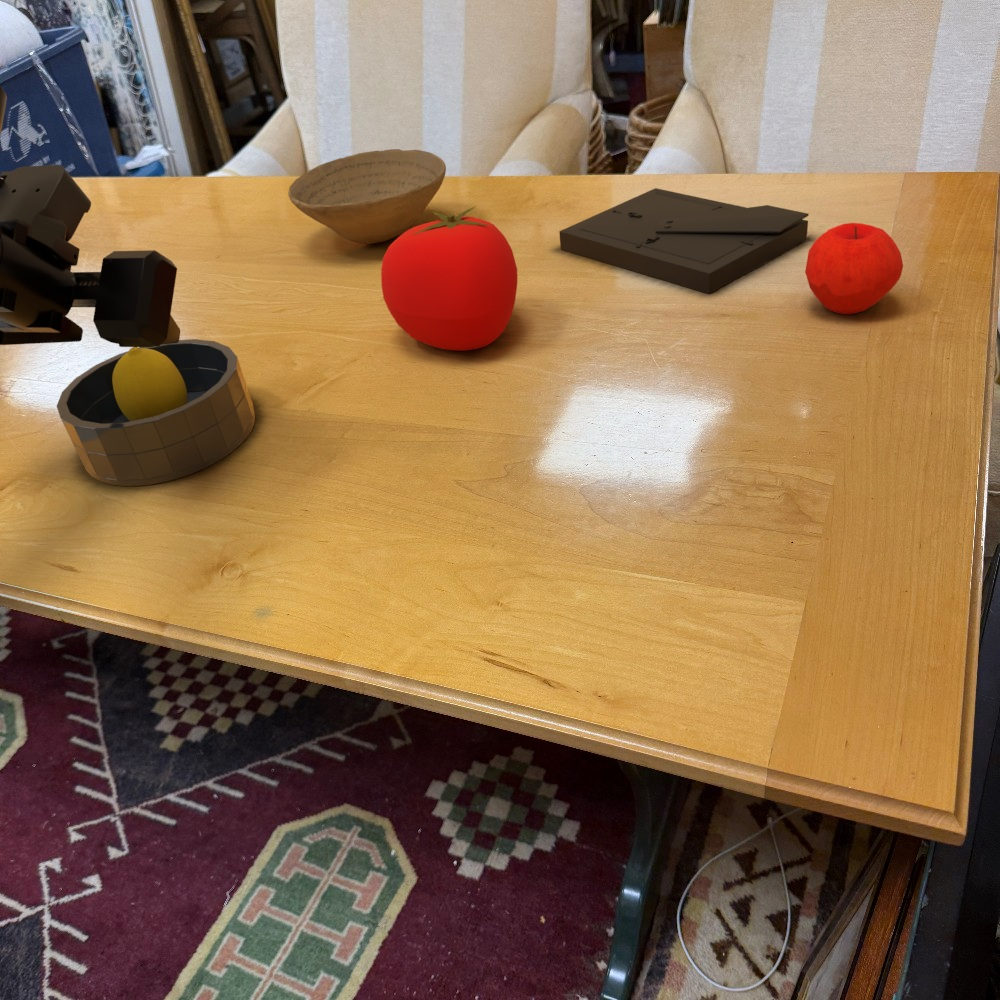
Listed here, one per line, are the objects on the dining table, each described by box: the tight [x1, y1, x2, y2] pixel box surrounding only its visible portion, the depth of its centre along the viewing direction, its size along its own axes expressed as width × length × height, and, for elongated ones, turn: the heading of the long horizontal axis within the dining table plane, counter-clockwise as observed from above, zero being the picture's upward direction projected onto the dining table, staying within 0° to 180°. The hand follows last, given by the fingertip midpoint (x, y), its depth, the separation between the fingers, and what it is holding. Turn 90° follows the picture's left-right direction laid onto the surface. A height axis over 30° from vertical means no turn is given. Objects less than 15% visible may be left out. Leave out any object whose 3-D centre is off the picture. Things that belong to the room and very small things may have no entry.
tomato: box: [380, 205, 518, 352], centre depth 83 cm, size 12×14×11 cm
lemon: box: [112, 347, 187, 421], centre depth 75 cm, size 6×6×8 cm
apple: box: [804, 222, 904, 315], centre depth 80 cm, size 8×8×7 cm
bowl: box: [287, 148, 447, 245], centre depth 109 cm, size 18×18×8 cm
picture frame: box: [558, 187, 810, 294], centre depth 97 cm, size 16×3×21 cm
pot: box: [56, 338, 256, 487], centre depth 77 cm, size 15×15×6 cm
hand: (128, 335), depth 72 cm, fingers open, 9 cm apart
